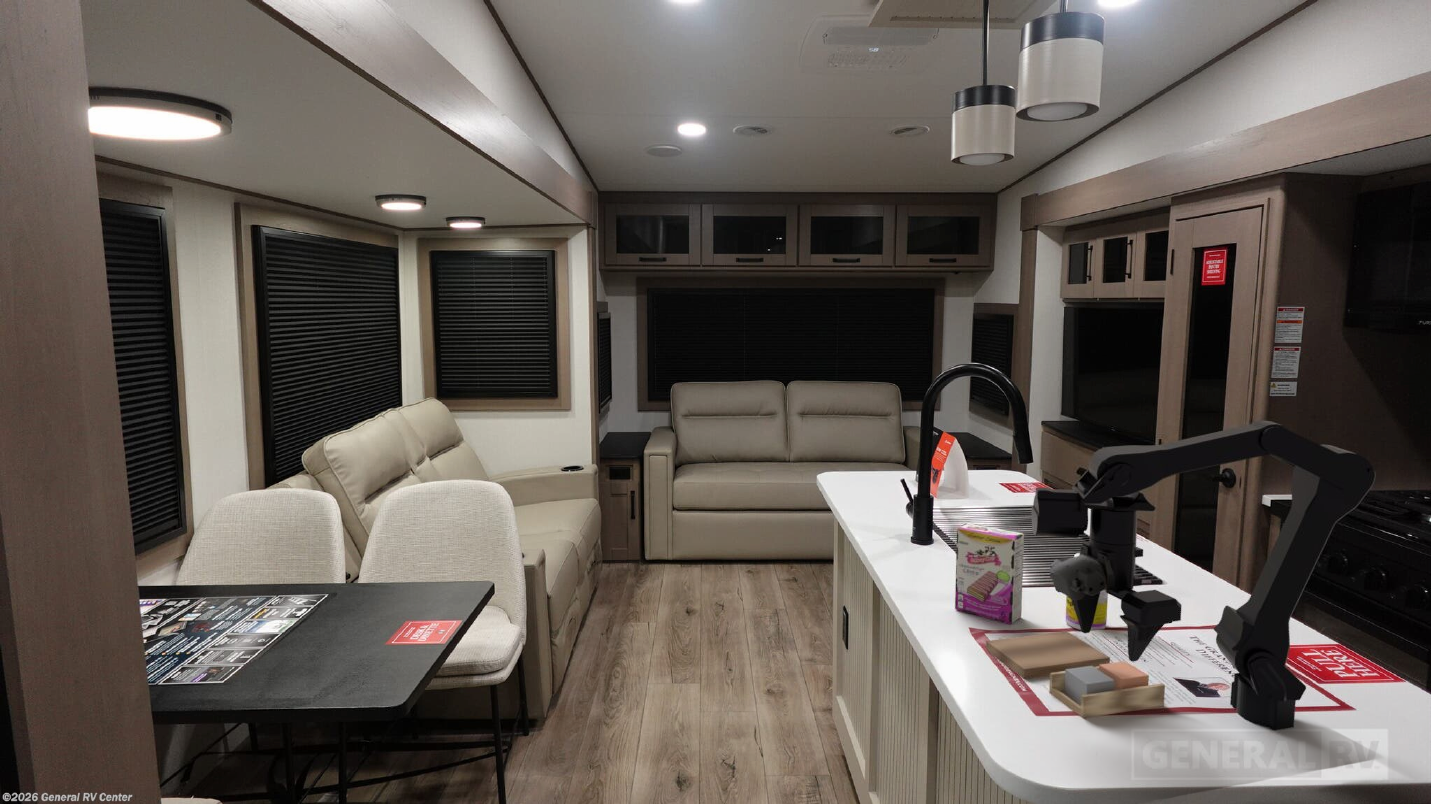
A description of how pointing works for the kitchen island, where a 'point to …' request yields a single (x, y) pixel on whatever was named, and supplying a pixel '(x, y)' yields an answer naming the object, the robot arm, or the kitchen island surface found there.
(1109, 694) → the wooden tray
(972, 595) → the candy bar box
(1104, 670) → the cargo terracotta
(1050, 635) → the plate
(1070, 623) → the supplement bottle
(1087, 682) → the block
